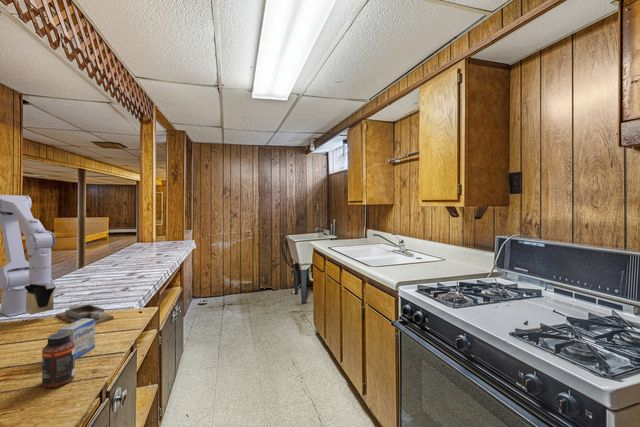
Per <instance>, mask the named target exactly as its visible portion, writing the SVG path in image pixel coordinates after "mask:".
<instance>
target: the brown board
mask: <svg viewBox="0 0 640 427" xmlns="http://www.w3.org/2000/svg"><path fill="white" fill-rule="evenodd" d="M55 314H56V315H55V316H56V318H59V319H62V320H65V321H67V322H70V323H73V322H75V321H77V320H80V319H95V326H96V325H99V324H102V323H105V322H108V321H112V320H114V319H115V316H114V315H110V314H108V313H105V309H104V308H103V307H98V306H96V305H92V304H90V303H89V304H85V305H78V304H73V305H70V306H69V307H68V309H66V310H65V311H63V312H58V313H55Z"/></svg>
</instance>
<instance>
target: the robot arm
mask: <svg viewBox="0 0 640 427" xmlns="http://www.w3.org/2000/svg"><path fill="white" fill-rule="evenodd" d="M31 209H32V199H31V197H30V196H29V195H28V194H26V195H17V194H0V229H1V235H2V240H3V247H4V251H5V252H4V254H5V258H6V263H5V265H3V266H2V267H0V289H1V290H3V291H2V292H1V296H0V297H1V298H0V299H1V300H0V302H1V303H0V308H1V309H0V314H2V315H4V316H7V317H13V316H17V315H18V316H19V315H21V314H26V292H30V291H34V292H35V294H36V296H37V301H38V306H39V308H42V307H46V306H48V303H49V299H50V297H51V294H52V292H53V291H54V292H55V290H56V286H55V282H54V281H53V278H52V249H53V248H54V247H55V245H56V237H55V235H54V233H53V232H52V231H49V230H46V228H45V227H44V225H43V224H42V223H41V221H40V220H39V219H37V218H34V216H33V214H32V211H31ZM19 223H20V224H19ZM21 233H22V234H23V235H24V237H25V241H24V242H25V247H26V253H27V254H26V255H28V261H27V260H26V257H25V251H24V245H23V242H22V235H21Z"/></svg>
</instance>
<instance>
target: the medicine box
mask: <svg viewBox="0 0 640 427" xmlns="http://www.w3.org/2000/svg"><path fill="white" fill-rule="evenodd" d="M59 332H69V333H70V340H72V341H74V343H75V360H77V359H78V358H80V357H82V356H83V355H85V354H86V353H88V352H90V351H91V350H93V349H94V348H95V346H96V341H95V340H96V338H95V337H96V325H95V319H80V320H77V321H75V322H73V323H72V322H70V323H69V324H67V325H65V326H62V327H60V328H59V329H57V333H59Z"/></svg>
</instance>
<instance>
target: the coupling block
mask: <svg viewBox="0 0 640 427" xmlns="http://www.w3.org/2000/svg"><path fill="white" fill-rule="evenodd" d="M54 292H55V290H54V291H53V292H52V294H51V297H50V299H49V303H48V306H46V307H42V308H39V306H38V301H37V296H36V294H35V292H34V291H30V292H26V313H27V314H29V315H31V316H32V315H36V314H40V313H44V312H47V311H52V310H54ZM26 313H25V314H26Z"/></svg>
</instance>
